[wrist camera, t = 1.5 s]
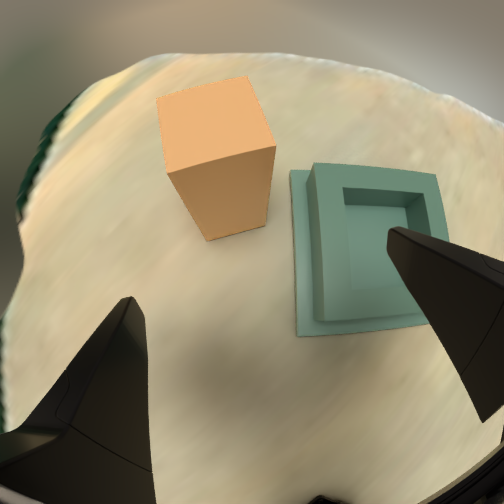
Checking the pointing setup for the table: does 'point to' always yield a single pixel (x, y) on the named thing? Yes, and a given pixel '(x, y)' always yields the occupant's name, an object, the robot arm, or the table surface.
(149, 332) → the table surface
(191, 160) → the plug
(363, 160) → the table surface
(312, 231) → the socket housing
